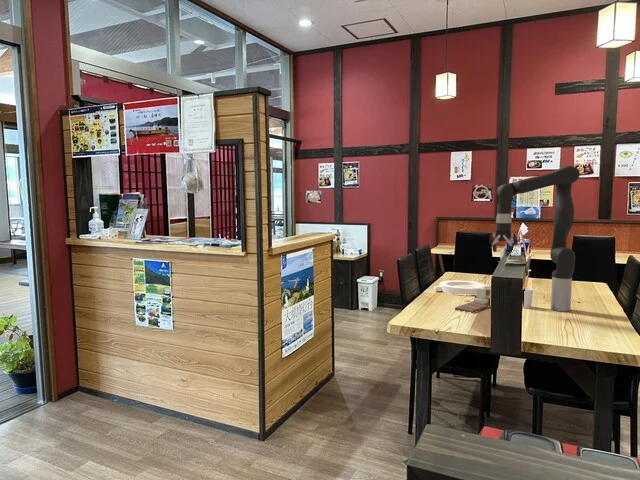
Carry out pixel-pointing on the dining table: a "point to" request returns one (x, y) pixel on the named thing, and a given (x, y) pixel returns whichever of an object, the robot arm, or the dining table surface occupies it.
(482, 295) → the block
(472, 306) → the rail
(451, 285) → the ring with crossbar
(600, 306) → the dining table surface
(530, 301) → the white cup
